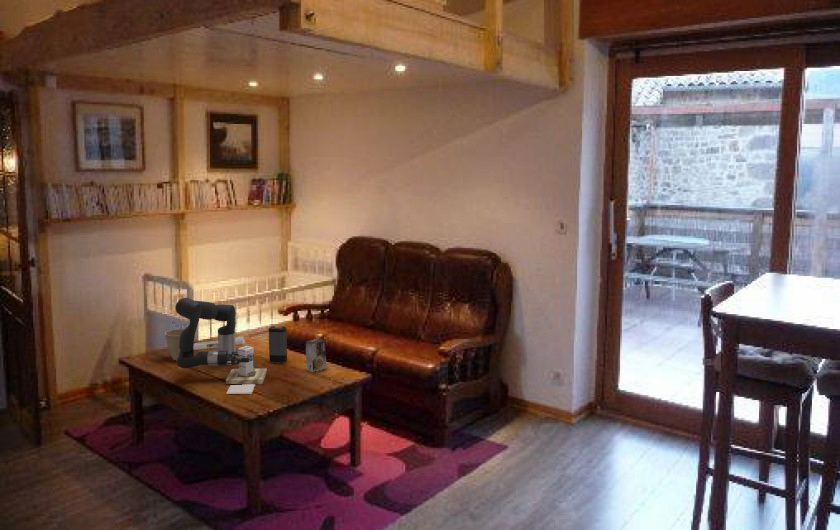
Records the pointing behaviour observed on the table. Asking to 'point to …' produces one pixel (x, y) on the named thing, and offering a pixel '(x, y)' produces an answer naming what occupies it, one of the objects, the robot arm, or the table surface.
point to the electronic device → (277, 345)
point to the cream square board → (235, 379)
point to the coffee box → (315, 355)
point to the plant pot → (173, 342)
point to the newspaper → (216, 343)
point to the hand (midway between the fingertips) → (250, 357)
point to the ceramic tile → (241, 389)
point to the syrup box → (246, 367)
